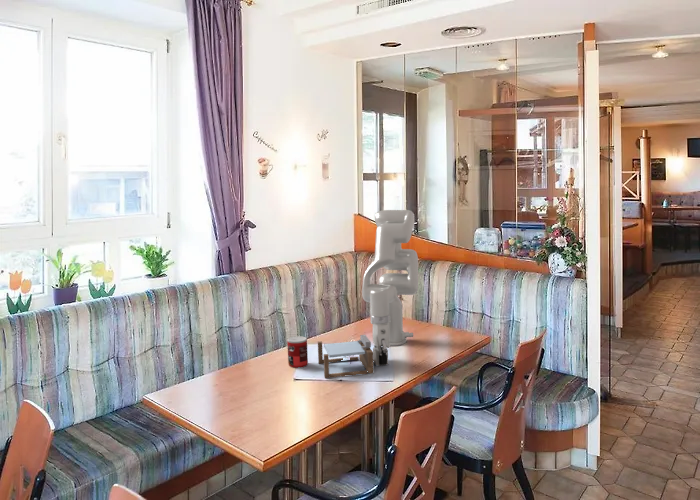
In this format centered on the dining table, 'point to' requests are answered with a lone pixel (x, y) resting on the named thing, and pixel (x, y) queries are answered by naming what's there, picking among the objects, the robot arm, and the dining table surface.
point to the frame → (364, 358)
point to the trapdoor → (348, 347)
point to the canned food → (297, 351)
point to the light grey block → (377, 355)
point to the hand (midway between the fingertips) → (380, 360)
